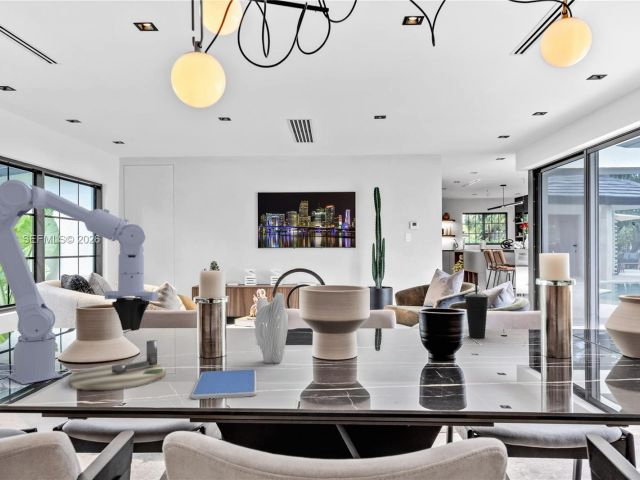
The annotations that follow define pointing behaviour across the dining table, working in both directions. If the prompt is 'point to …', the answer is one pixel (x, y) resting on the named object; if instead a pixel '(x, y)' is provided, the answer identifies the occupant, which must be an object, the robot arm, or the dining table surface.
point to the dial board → (115, 377)
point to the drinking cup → (476, 312)
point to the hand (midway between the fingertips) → (130, 329)
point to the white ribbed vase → (271, 328)
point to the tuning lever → (150, 360)
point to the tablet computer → (225, 384)
